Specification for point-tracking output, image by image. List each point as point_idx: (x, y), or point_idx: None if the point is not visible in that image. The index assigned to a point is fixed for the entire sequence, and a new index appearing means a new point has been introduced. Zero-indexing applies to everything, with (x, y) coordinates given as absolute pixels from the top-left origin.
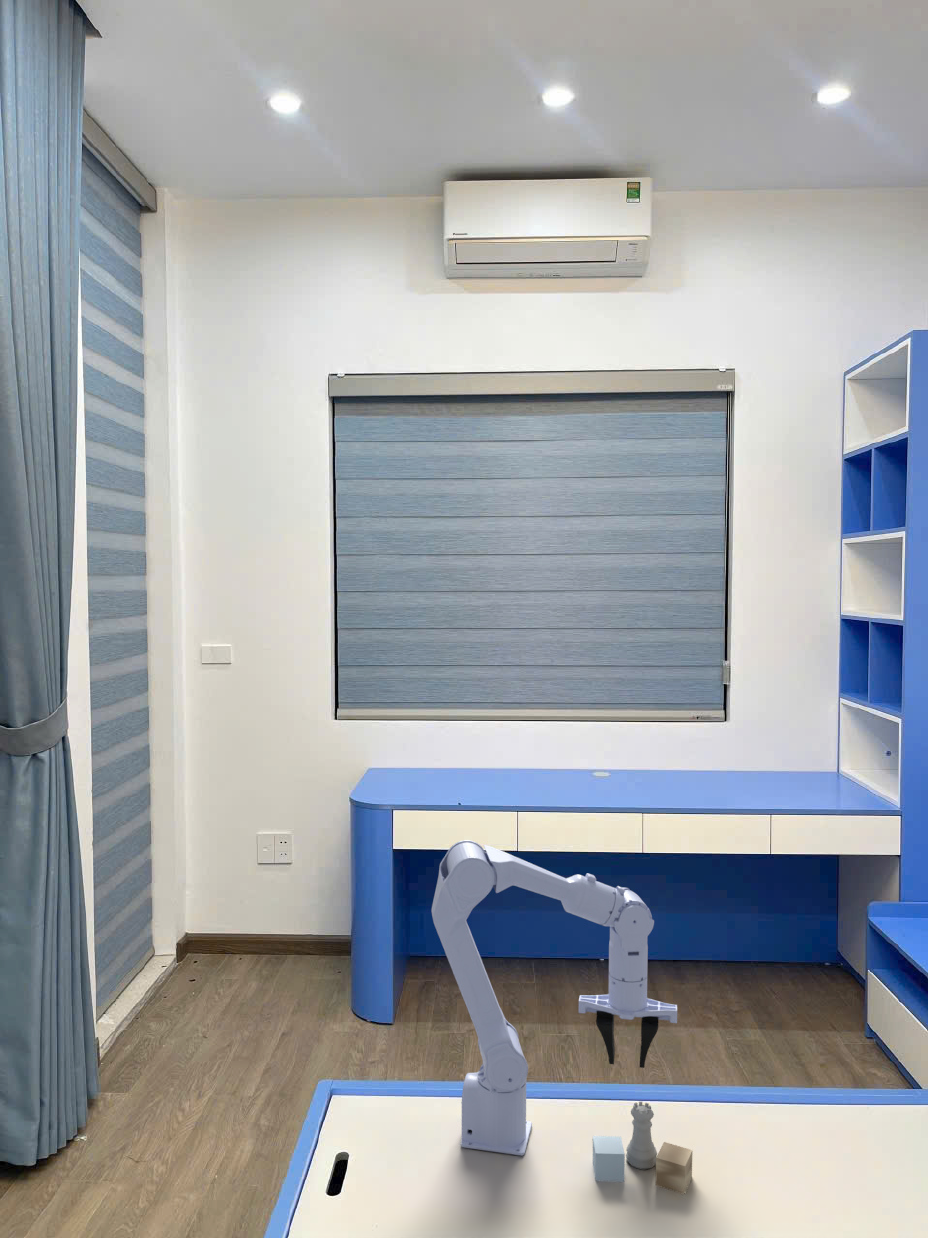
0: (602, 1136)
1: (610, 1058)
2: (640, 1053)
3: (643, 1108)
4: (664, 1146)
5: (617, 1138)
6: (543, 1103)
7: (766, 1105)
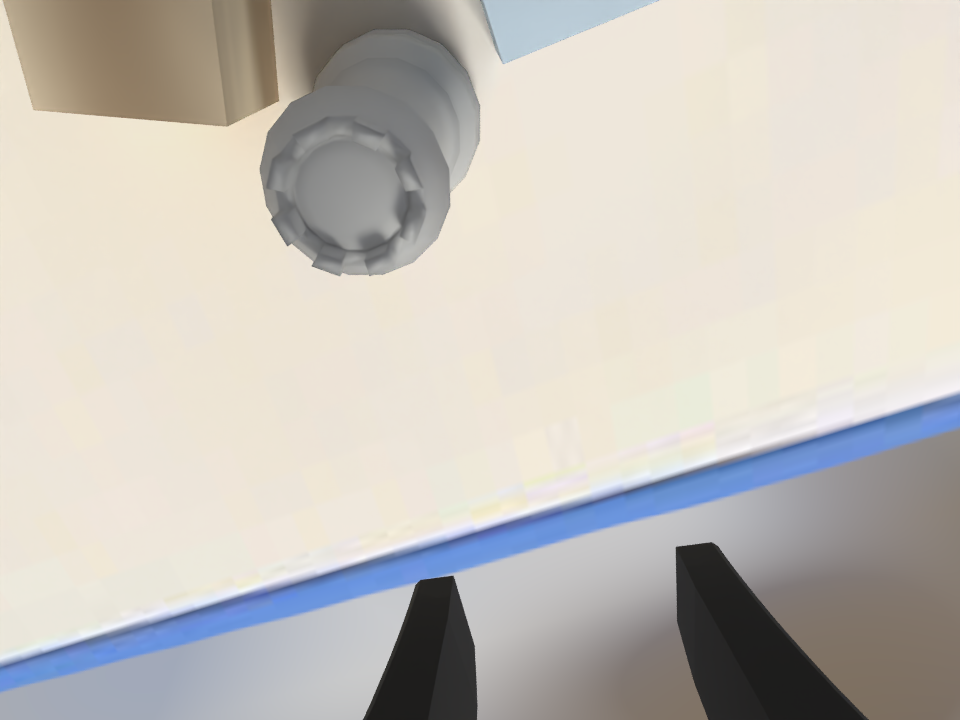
0: (629, 7)
1: (727, 583)
2: (441, 702)
3: (341, 207)
4: (201, 70)
5: (521, 27)
6: (917, 374)
7: (98, 625)
